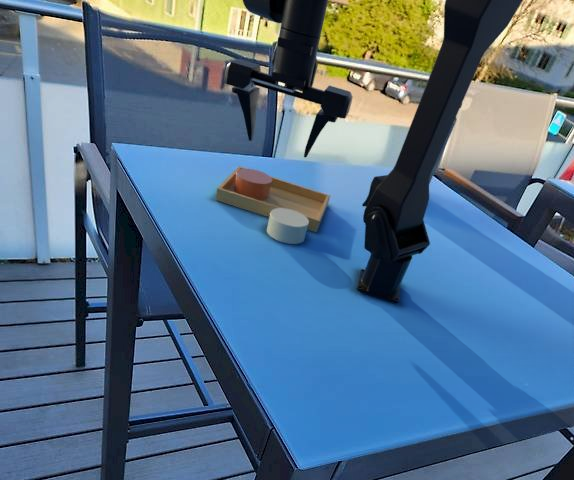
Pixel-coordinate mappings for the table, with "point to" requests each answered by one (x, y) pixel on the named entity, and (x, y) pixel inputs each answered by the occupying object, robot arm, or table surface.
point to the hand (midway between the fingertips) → (278, 148)
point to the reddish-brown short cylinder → (253, 184)
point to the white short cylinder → (287, 226)
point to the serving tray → (278, 199)
